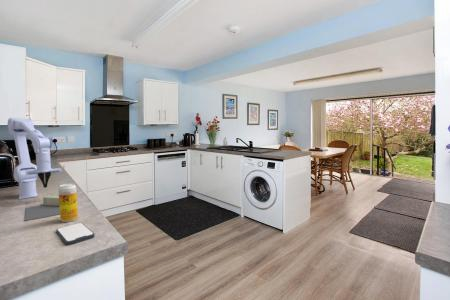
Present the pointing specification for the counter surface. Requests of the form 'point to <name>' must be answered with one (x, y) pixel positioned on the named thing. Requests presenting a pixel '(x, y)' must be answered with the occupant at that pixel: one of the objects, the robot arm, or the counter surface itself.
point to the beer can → (68, 202)
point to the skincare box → (51, 200)
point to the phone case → (74, 233)
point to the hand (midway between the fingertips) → (45, 187)
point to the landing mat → (41, 212)
